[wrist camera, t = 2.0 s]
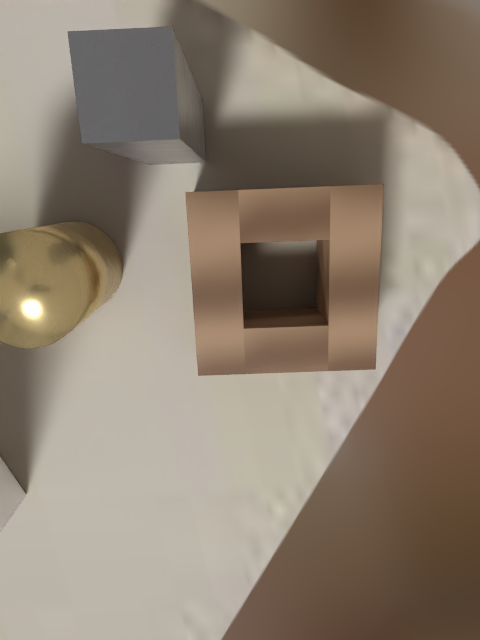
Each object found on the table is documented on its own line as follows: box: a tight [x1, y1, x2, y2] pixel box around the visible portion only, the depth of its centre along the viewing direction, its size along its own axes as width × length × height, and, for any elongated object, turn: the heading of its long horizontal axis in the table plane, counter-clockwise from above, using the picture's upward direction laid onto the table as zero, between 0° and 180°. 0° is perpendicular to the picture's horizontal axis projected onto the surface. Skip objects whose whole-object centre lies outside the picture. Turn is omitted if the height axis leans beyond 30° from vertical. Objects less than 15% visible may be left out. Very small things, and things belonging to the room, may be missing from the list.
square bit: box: [68, 27, 206, 165], centre depth 24 cm, size 4×4×14 cm
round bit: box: [0, 222, 123, 348], centre depth 29 cm, size 7×7×9 cm
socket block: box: [186, 184, 384, 376], centre depth 31 cm, size 12×12×5 cm
